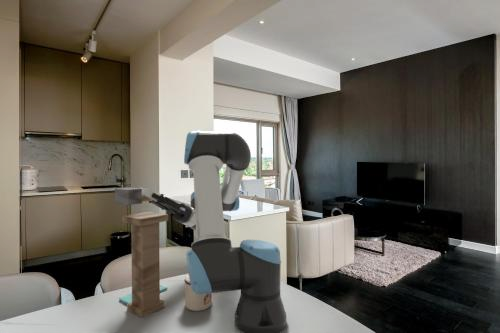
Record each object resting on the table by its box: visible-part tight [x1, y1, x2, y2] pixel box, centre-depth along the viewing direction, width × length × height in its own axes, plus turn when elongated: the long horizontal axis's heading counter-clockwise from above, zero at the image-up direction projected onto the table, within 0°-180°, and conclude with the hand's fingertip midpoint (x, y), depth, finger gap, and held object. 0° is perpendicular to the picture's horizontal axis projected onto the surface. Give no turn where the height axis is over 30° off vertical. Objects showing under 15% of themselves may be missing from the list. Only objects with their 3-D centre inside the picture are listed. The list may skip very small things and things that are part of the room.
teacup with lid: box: [184, 274, 213, 312], centre depth 99 cm, size 12×9×12 cm
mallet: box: [114, 187, 162, 206], centre depth 106 cm, size 15×8×5 cm, turn 144°
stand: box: [121, 211, 169, 318], centre depth 95 cm, size 10×10×30 cm
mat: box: [119, 284, 168, 305], centre depth 105 cm, size 6×15×1 cm, turn 144°
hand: (141, 190), depth 106 cm, fingers closed on mallet, 2 cm apart
